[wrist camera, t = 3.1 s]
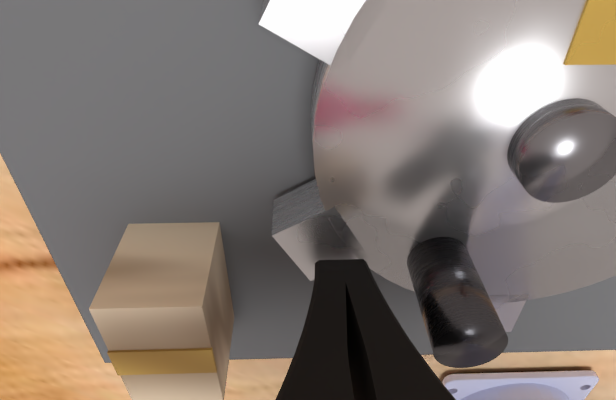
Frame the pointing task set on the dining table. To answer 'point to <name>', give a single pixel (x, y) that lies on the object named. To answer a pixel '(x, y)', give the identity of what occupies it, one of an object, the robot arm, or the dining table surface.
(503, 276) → the sprocket
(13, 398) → the dining table surface
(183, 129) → the mat
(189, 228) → the banded wooden block
